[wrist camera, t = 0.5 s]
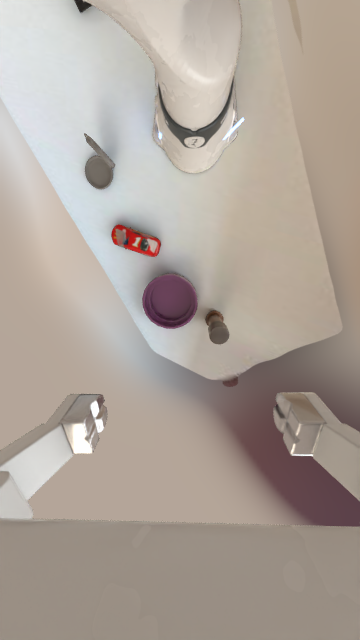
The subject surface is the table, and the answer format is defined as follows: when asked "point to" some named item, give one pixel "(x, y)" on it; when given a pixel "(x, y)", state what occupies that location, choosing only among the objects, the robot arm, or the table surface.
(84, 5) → the disk drive
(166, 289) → the bowl
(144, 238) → the race car
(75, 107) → the table surface
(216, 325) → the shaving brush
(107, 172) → the pocket watch
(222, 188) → the table surface
